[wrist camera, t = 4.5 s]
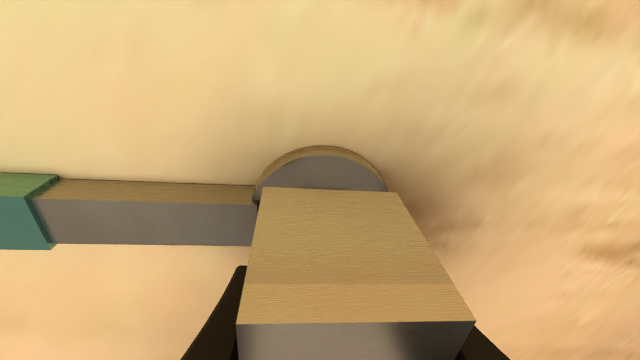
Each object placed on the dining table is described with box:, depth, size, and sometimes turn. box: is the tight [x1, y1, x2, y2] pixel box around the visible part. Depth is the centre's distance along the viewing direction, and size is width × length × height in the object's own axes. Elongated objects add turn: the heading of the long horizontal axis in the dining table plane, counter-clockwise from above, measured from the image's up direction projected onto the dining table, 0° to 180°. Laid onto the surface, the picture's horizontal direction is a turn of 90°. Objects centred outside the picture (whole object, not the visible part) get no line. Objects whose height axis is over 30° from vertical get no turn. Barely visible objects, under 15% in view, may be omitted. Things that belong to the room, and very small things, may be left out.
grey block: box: [236, 187, 476, 360], centre depth 9 cm, size 5×5×6 cm
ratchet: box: [0, 146, 388, 250], centre depth 12 cm, size 7×20×4 cm, turn 85°
